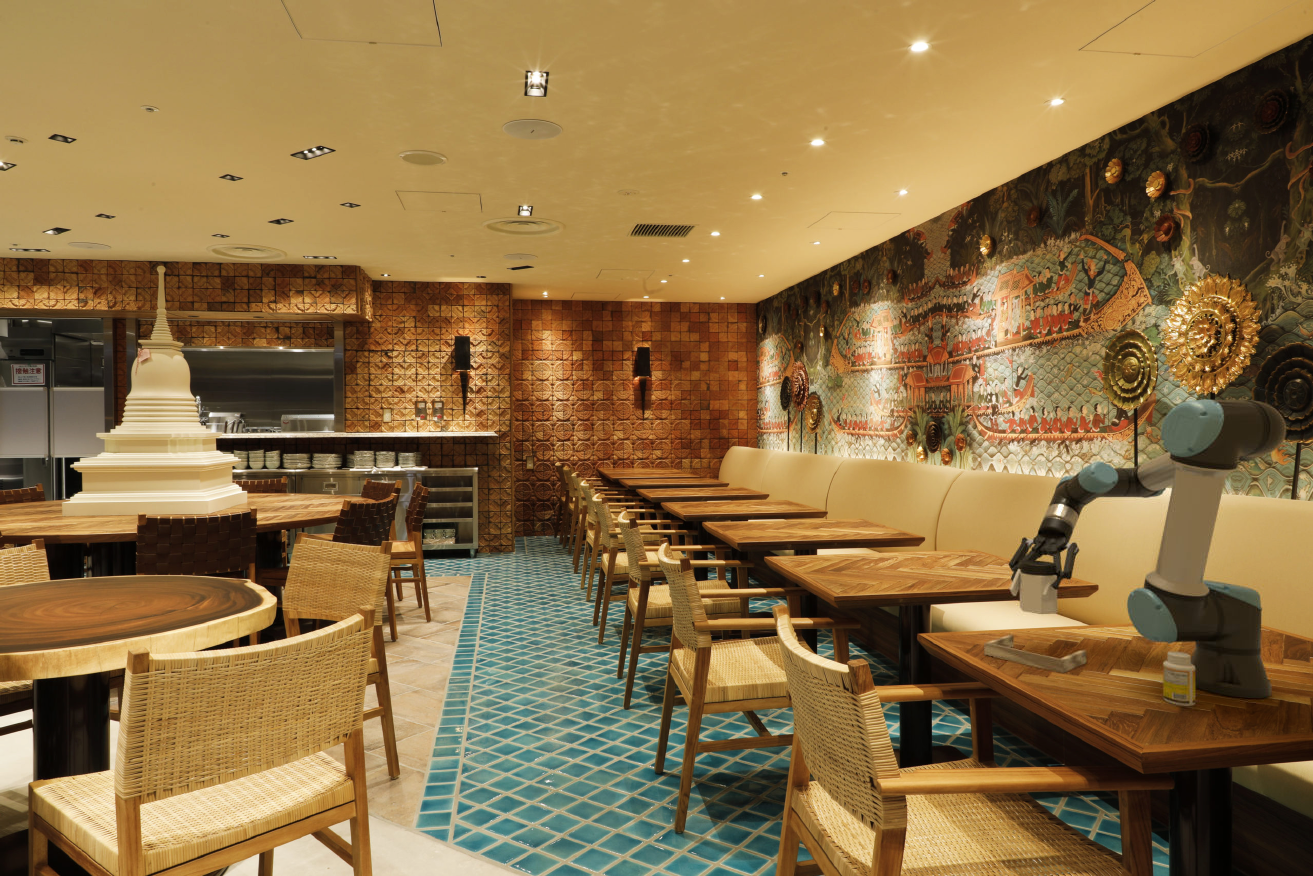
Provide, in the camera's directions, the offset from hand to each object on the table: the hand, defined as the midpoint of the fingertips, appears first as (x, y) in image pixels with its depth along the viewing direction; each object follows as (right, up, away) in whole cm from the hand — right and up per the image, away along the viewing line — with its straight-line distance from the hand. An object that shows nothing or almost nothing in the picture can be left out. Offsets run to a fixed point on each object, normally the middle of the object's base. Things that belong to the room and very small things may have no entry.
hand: (1028, 595), depth 185 cm
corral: (+3, -16, +2) cm, 17 cm away
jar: (+3, -4, +1) cm, 6 cm away
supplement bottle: (+17, -17, -29) cm, 38 cm away
